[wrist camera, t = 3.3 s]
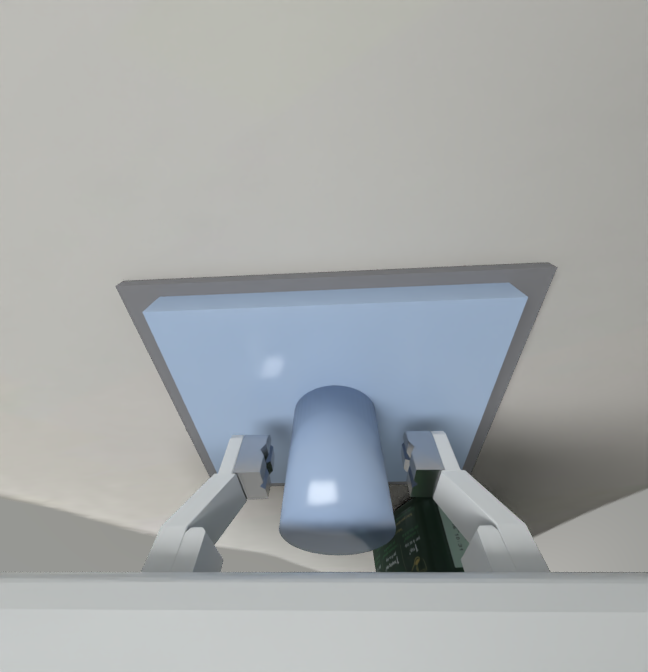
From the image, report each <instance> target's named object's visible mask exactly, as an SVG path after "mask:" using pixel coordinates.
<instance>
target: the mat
mask: <svg viewBox="0 0 648 672" xmlns="http://www.w3.org/2000/svg"><path fill="white" fill-rule="evenodd" d="M556 269H557V267H556V266H554V265H552V264H550V263H525V264H502V265H479V266H456V267H433V268H410V269H387V270H364V271H341V272H318V273H295V274H272V275H249V276H226V277H203V278H180V279H157V280H134V281H123V282H121V283H120V284H118V285H117V286H116V288H117V290H118V292H119V294H120V296H121V298H122V300H123V302H124V304H125V307H126V309H127V311H128V313H129V315H130V317H131V319H132V321H133V323H134V325H135V327H136V329H137V331H138V333H139V335H140V337H141V339H142V341H143V343H144V345H145V347H146V349H147V351H148V353H149V355H150V357H151V359H152V361H153V363H154V365H155V367H156V369H157V371H158V373H159V375H160V377H161V379H162V381H163V383H164V385H165V387H166V389H167V391H168V393H169V395H170V397H171V399H172V401H173V403H174V405H175V408H176V410H177V412H178V414H179V416H180V418H181V420H182V422H183V424H184V426H185V428H186V430H187V432H188V434H189V436H190V438H191V440H192V442H193V444H194V446H195V448H196V450H197V452H198V454H199V456H200V458H201V460H202V462H203V464H204V466H205V468H206V470H207V472H208V474H209V476H210V477H212V476H213V475H214V474H217V472H216V470H215V468H214V465H213V463H212V461H211V459H210V457H209V455H208V453H207V450H206V448H205V446H204V444H203V442H202V440H201V437H200V435H199V433H198V431H197V429H196V427H195V425H194V422H193V420H192V418H191V416H190V414H189V412H188V409H187V407H186V405H185V403H184V401H183V399H182V396H181V394H180V392H179V390H178V388H177V386H176V384H175V381H174V379H173V377H172V375H171V373H170V371H169V368H168V366H167V364H166V362H165V360H164V358H163V355H162V353H161V351H160V349H159V347H158V345H157V343H156V340H155V338H154V336H153V334H152V332H151V330H150V327H149V325H148V323H147V321H146V319H145V317H144V314H143V311H144V310H145V309H146V308H148V307H149V306H150V305H151V304H152V303H153V302H154V301H155V300H156V299H158V298H159V297H166V296H190V295H215V294H239V293H264V292H288V291H313V290H337V289H362V288H386V287H411V286H435V285H460V284H484V283H510V284H512V285H513V286H514V287H516V288H517V289H518V290H520V291H521V292H522V293H523V294H525V295H526V296H527V297H528V299H527V302H526V304H525V307H524V310H523V312H522V315H521V317H520V320H519V323H518V325H517V328H516V330H515V333H514V336H513V338H512V341H511V343H510V346H509V349H508V351H507V354H506V356H505V359H504V362H503V364H502V367H501V369H500V372H499V375H498V377H497V380H496V382H495V385H494V388H493V390H492V393H491V395H490V398H489V401H488V403H487V406H486V408H485V411H484V414H483V416H482V419H481V421H480V424H479V427H478V429H477V432H476V435H475V437H474V440H473V442H472V445H471V448H470V450H469V453H468V455H467V458H466V461H465V463H464V466H463V468H462V470H465V471H466V472H467V473H469V474H471V472H472V469H473V467H474V465H475V462H476V460H477V457H478V455H479V453H480V450H481V448H482V446H483V443H484V441H485V438H486V436H487V434H488V431H489V429H490V427H491V424H492V422H493V419H494V417H495V415H496V412H497V410H498V407H499V405H500V403H501V400H502V398H503V396H504V393H505V391H506V388H507V386H508V384H509V381H510V379H511V376H512V374H513V372H514V369H515V367H516V365H517V362H518V360H519V357H520V355H521V353H522V350H523V348H524V346H525V343H526V341H527V338H528V336H529V334H530V331H531V329H532V326H533V324H534V322H535V319H536V317H537V315H538V312H539V310H540V307H541V305H542V303H543V300H544V298H545V295H546V293H547V291H548V288H549V286H550V284H551V281H552V279H553V276H554V274H555V272H556ZM390 484H407V481H403V482H388V485H390ZM270 486H285V483H271V485H270Z"/></svg>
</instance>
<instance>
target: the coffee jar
mask: <svg viewBox="0 0 648 672" xmlns="http://www.w3.org/2000/svg"><path fill="white" fill-rule="evenodd" d="M393 514H394V520H395V525H396V532H395V535H394V537H393V538H392V539H391V540H390V541H389V542H388V543H387V544H385V545H383V546H382V547H379V548H377V549H374V550H373V554H374V561H375V569H376V572H464V569H463V565H462V562H461V558H462V556H463V555H464V553H465V551H466V549H467V547H468V545H469V542H468V541H467V540H466V539H465V537H464V536H463V535H462V534H461V533H460V531H459V530H458V529H457V528H456V526H455V525H454V524H453V523H452V522H451V520H450V519H449V518H448V517H447V515H446V514H445V513H444V512H443V510H442V509H441V508H440V507H439V506H438V504H437V503H436V502H435V501H434V499H433V497H415V498H413V499H411V500H410V501H408V502H407V503H405V504H404V505H402V506H401V507H400V508H399V509H397V510H396V511H395V512H394V513H393Z"/></svg>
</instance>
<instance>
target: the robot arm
mask: <svg viewBox="0 0 648 672" xmlns="http://www.w3.org/2000/svg"><path fill="white" fill-rule="evenodd" d="M403 440H404V443H403V444H402V447H401V457H402V463H403V468H404V470H405V471H406V472H407V478H406V481H407V485H408V489H409V494H410V497H433V499H434V501H435V502H436V503H437V504H438V506H439V507H440V508H441V509H442V510H443V512H444V513H445V514H446V515H447V517H448V518H449V519H450V520H451V522H452V523H453V524H454V525H455V526H456V528H457V529H458V530H459V531H460V533H461V534H462V535H463V536H464V537H465V539H466V540H467V541H468V542H469V545H468V547H467V549H466V551H465V553H464V555H463V556H462V558H461V562H462V565H463V569H464V572H221V568H222V564H223V558H222V556H221V555H220V553H219V552H218V551H217V549H216V547H215V543H216V542H217V541H218V539H219V538H220V537H221V535H222V534H223V533H224V531H225V530H226V528H227V527H228V526H229V524H230V523H231V522H232V520H233V519H234V518H235V516H236V515H237V513H238V512H239V511H240V509H241V508H242V507H243V505H244V504H245V503H246V501H247V500H246V499H268V496H269V491H270V485H271V479H270V476H269V475H270V474H271V472H272V471H273V468H274V457H275V455H274V448H273V446H271V437H270V435H232V437H231V438H230V440H229V443H228V446H227V449H226V452H225V455H224V457H223V460H222V463H221V466H220V469H219V472H218V474H214V475H213V476H212V477H210V478H209V479H208V480H207V481H206V482H205V483H204V484H203V485H202V486H201V487H200V488H199V489H198V490H197V491H196V492H195V493H194V494H193V495H192V496H191V497H190V498H189V499H188V500H187V501H186V502H185V503H184V504H183V505H182V506H181V507H180V508H179V509H178V510H177V511H176V512H175V513H174V514H173V515H172V516H171V517H170V518H169V519H168V520H167V521H166V522H165V523H164V524H163V525H162V526H161V528H160V530H159V532H158V535H157V537H156V539H155V542H154V544H153V546H152V548H151V550H150V553H149V555H148V557H147V559H146V562H145V564H144V566H143V568H142V571H141V572H0V672H648V572H550V570H549V568H548V566H547V564H546V562H545V561H544V559H543V557H542V555H541V553H540V551H539V549H538V547H537V545H536V543H535V542H534V539H533V537H532V535H531V534H530V532H529V530H528V528H527V526H526V524H525V523H524V522H523V521H521V520H520V519H519V518H518V517H517V516H516V515H515V514H514V513H512V512H511V511H510V510H509V509H508V508H507V507H506V506H505V505H503V504H502V503H501V502H500V501H499V500H498V499H497V498H496V497H494V496H493V495H492V494H491V493H490V492H489V491H488V490H487V489H485V488H484V487H483V486H482V485H481V484H480V483H479V482H478V481H476V480H475V479H474V478H473V477H472V476H471V475H470V474H469V473H467V472H466V471H465V470H461V469H460V467H459V465H458V462H457V460H456V457H455V455H454V452H453V450H452V447H451V445H450V443H449V440H448V438H447V435H446V433H445V432H444V431H409V432H404V434H403Z"/></svg>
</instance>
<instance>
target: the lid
mask: <svg viewBox="0 0 648 672" xmlns="http://www.w3.org/2000/svg"><path fill="white" fill-rule="evenodd" d="M527 299H528V297H527V296H526V295H525V294H523V293H522V292H521V291H520V290H518V289H517V288H516V287H514V286H513V285H512V284H510V283H484V284H460V285H435V286H411V287H386V288H362V289H337V290H313V291H288V292H264V293H239V294H215V295H190V296H166V297H159V298H158V299H156V300H155V301H154V302H153V303H152V304H151V305H150V306H149V307H148V308H146V309H145V310H144V311H143V314H144V317H145V319H146V321H147V323H148V325H149V327H150V330H151V332H152V334H153V336H154V338H155V340H156V343H157V345H158V347H159V349H160V351H161V353H162V355H163V358H164V360H165V362H166V364H167V366H168V368H169V371H170V373H171V375H172V377H173V379H174V381H175V384H176V386H177V388H178V390H179V392H180V394H181V396H182V399H183V401H184V403H185V405H186V407H187V409H188V412H189V414H190V416H191V418H192V420H193V422H194V425H195V427H196V429H197V431H198V433H199V435H200V437H201V440H202V442H203V444H204V446H205V448H206V450H207V453H208V455H209V457H210V459H211V461H212V463H213V465H214V468H215V470H216V472H217V474H218V472H219V469H220V466H221V463H222V460H223V457H224V455H225V452H226V449H227V446H228V443H229V440H230V438H231V437H232V435H270V437H271V446H273V448H274V455H275V457H274V468H273V471H272V472H271V474H270V475H269V476H270V479H271V483H285V488H284V495H283V503H282V510H281V518H280V526H279V531H280V534H281V536H282V537H283V539H284V540H286V541H287V542H288V543H289V544H291V545H293V546H295V547H297V548H299V549H302V550H305V551H308V552H312V553H318V554H325V555H352V554H359V553H364V552H368V551H371V550H374V549H377V548H379V547H382V546H383V545H385V544H387V543H388V542H389V541H390V540H391V539H392V538H393V537H394V535H395V532H396V525H395V520H394V514H393V508H392V502H391V497H390V491H389V485H388V482H403V481H406V478H407V472H406V471H405V470H404V468H403V463H402V457H401V447H402V444H403V443H404V440H403V434H404V432H409V431H444V432H445V433H446V435H447V438H448V440H449V443H450V445H451V447H452V450H453V452H454V455H455V457H456V460H457V462H458V465H459V467H460V469H461V470H462V468H463V466H464V463H465V461H466V458H467V455H468V453H469V450H470V448H471V445H472V442H473V440H474V437H475V435H476V432H477V429H478V427H479V424H480V421H481V419H482V416H483V414H484V411H485V408H486V406H487V403H488V401H489V398H490V395H491V393H492V390H493V388H494V385H495V382H496V380H497V377H498V375H499V372H500V369H501V367H502V364H503V362H504V359H505V356H506V354H507V351H508V349H509V346H510V343H511V341H512V338H513V336H514V333H515V330H516V328H517V325H518V323H519V320H520V317H521V315H522V312H523V310H524V307H525V304H526V302H527Z"/></svg>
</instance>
